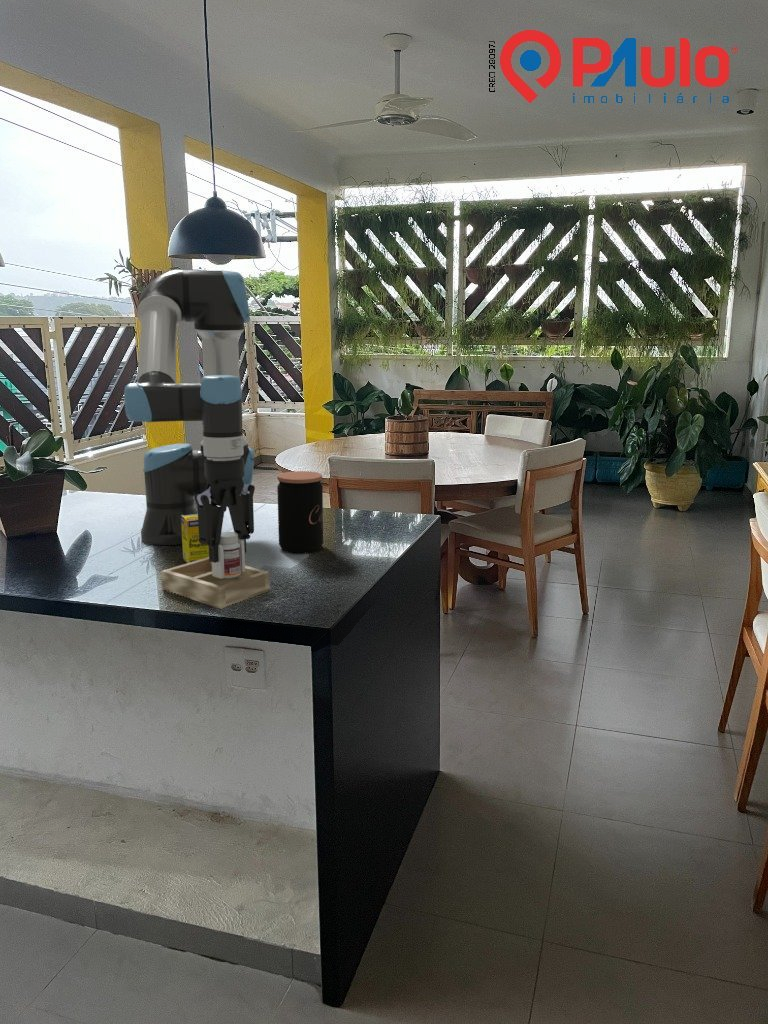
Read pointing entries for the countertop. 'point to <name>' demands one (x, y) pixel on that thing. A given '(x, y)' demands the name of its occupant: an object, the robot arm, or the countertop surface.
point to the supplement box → (192, 539)
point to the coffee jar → (300, 511)
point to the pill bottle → (231, 554)
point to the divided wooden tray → (214, 583)
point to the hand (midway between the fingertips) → (228, 573)
